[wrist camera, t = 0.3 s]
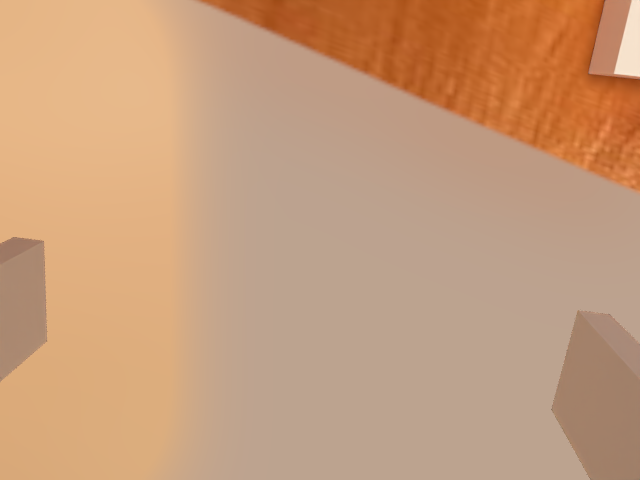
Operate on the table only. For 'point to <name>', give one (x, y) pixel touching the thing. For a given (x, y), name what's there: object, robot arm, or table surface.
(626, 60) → the rocker switch panel
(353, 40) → the table surface
